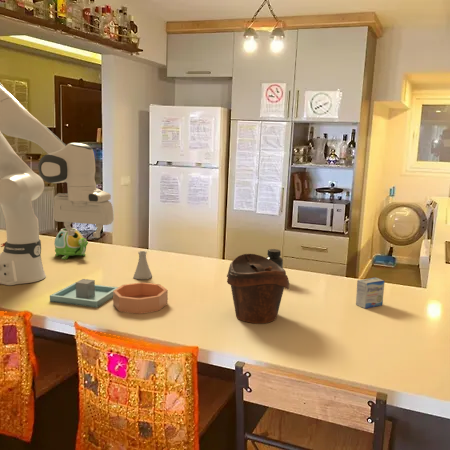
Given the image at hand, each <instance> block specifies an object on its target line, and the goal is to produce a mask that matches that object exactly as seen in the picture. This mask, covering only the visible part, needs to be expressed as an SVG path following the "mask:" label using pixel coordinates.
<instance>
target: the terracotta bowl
mask: <svg viewBox="0 0 450 450" xmlns="http://www.w3.org/2000/svg"><path fill="white" fill-rule="evenodd" d="M117 287H118V288H117V289H115V290H114V291H113V298H112V304H113V306H114V307H115V309H117V310H118V311H119V312H121V313H123V312H124V313H129V314H130V313H131V314H135V315H139V314H140V315H141V314H146V313H153V312H159V311H161V310H162V309H163V308H164V307H165V306H166V305H168V304H169V303H168V293H169V292H168V289H167V288H165V287H164V286H163V285H161V284H159V283H154V282H153V283H150V282H135V283H128V284H127V283H125V284H122V285H120V286H117Z"/></svg>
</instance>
